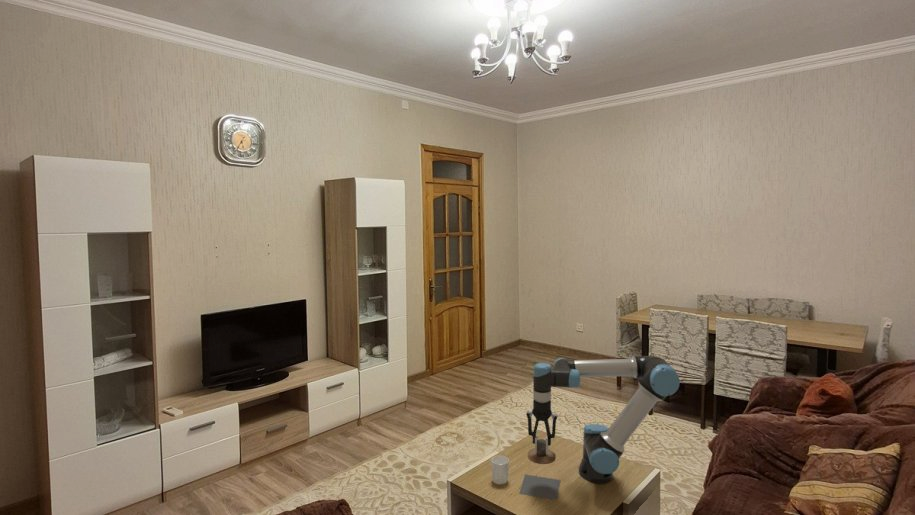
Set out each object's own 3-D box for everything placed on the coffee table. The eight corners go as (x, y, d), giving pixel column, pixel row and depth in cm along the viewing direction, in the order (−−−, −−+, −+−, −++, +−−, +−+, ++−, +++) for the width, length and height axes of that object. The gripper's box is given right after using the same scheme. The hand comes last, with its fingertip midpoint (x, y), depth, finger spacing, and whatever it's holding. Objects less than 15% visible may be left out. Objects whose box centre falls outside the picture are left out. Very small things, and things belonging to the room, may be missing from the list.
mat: (560, 481, 221) (560, 480, 221) (557, 501, 206) (557, 500, 206) (525, 475, 226) (525, 474, 226) (519, 494, 210) (519, 493, 210)
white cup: (488, 483, 219) (488, 461, 218) (495, 474, 226) (495, 454, 225) (504, 487, 216) (505, 466, 215) (511, 479, 223) (511, 458, 222)
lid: (556, 452, 218) (556, 436, 218) (554, 465, 207) (554, 449, 206) (529, 448, 222) (529, 433, 221) (525, 462, 210) (525, 445, 210)
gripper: (562, 398, 213) (562, 450, 215) (523, 394, 218) (523, 444, 220) (561, 404, 206) (560, 458, 208) (521, 400, 211) (520, 452, 213)
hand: (541, 451), depth 214 cm, fingers closed on lid, 4 cm apart
